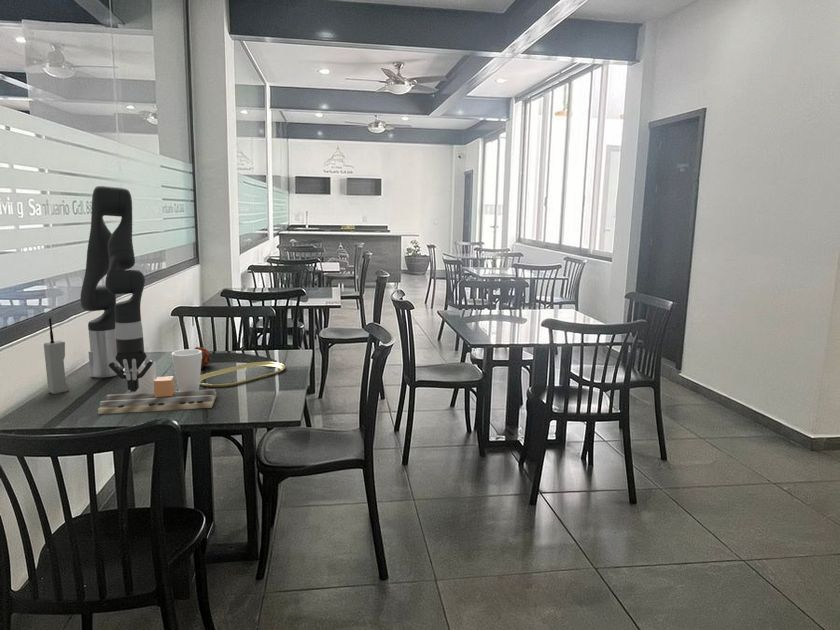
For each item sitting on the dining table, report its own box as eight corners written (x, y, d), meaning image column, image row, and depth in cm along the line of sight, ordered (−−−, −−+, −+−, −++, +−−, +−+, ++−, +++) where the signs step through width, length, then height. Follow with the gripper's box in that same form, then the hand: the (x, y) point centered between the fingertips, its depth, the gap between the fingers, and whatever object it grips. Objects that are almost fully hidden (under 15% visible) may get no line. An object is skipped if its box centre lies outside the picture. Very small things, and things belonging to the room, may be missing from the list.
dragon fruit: (205, 374, 228) (190, 373, 236) (220, 358, 233) (205, 357, 241) (190, 358, 224) (176, 358, 232) (205, 342, 228) (191, 342, 237)
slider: (155, 402, 184) (153, 381, 183) (158, 397, 189) (157, 376, 187) (172, 401, 185) (171, 380, 184) (175, 396, 190) (174, 376, 188)
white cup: (147, 396, 195) (145, 366, 193) (126, 395, 196) (123, 365, 195) (162, 389, 203) (160, 360, 201) (141, 388, 204) (139, 359, 202)
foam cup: (179, 386, 207) (177, 349, 204) (207, 385, 207) (204, 349, 205) (170, 394, 197) (167, 355, 195) (198, 393, 198) (196, 355, 196)
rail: (98, 414, 178) (97, 404, 177) (110, 401, 189) (109, 392, 189) (211, 407, 184) (211, 398, 183) (216, 396, 196) (216, 387, 195)
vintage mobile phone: (69, 390, 201) (62, 317, 197) (53, 394, 197) (46, 319, 193) (64, 388, 203) (57, 316, 199) (48, 392, 199) (40, 318, 195)
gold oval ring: (184, 383, 212) (184, 378, 212) (262, 363, 240) (262, 359, 240) (218, 392, 201) (218, 387, 201) (295, 370, 230) (295, 366, 230)
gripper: (155, 332, 187) (159, 386, 189) (109, 334, 184) (114, 388, 187) (149, 337, 179) (153, 393, 182) (101, 339, 177) (106, 395, 180)
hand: (133, 391), depth 184 cm, fingers closed
